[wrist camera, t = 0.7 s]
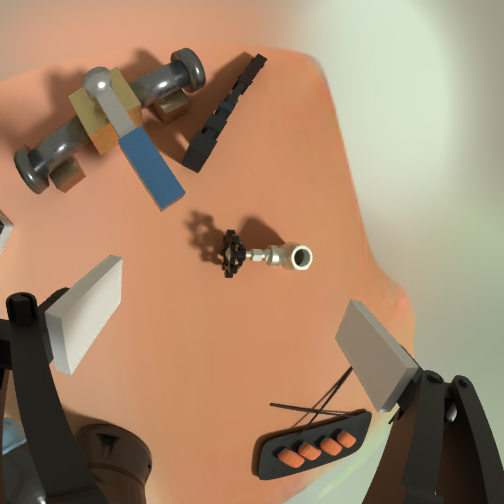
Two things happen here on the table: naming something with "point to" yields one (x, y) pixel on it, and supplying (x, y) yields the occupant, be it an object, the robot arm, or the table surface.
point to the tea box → (4, 230)
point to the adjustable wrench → (219, 119)
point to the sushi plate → (313, 443)
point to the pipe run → (98, 126)
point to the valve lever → (134, 141)
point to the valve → (263, 255)
